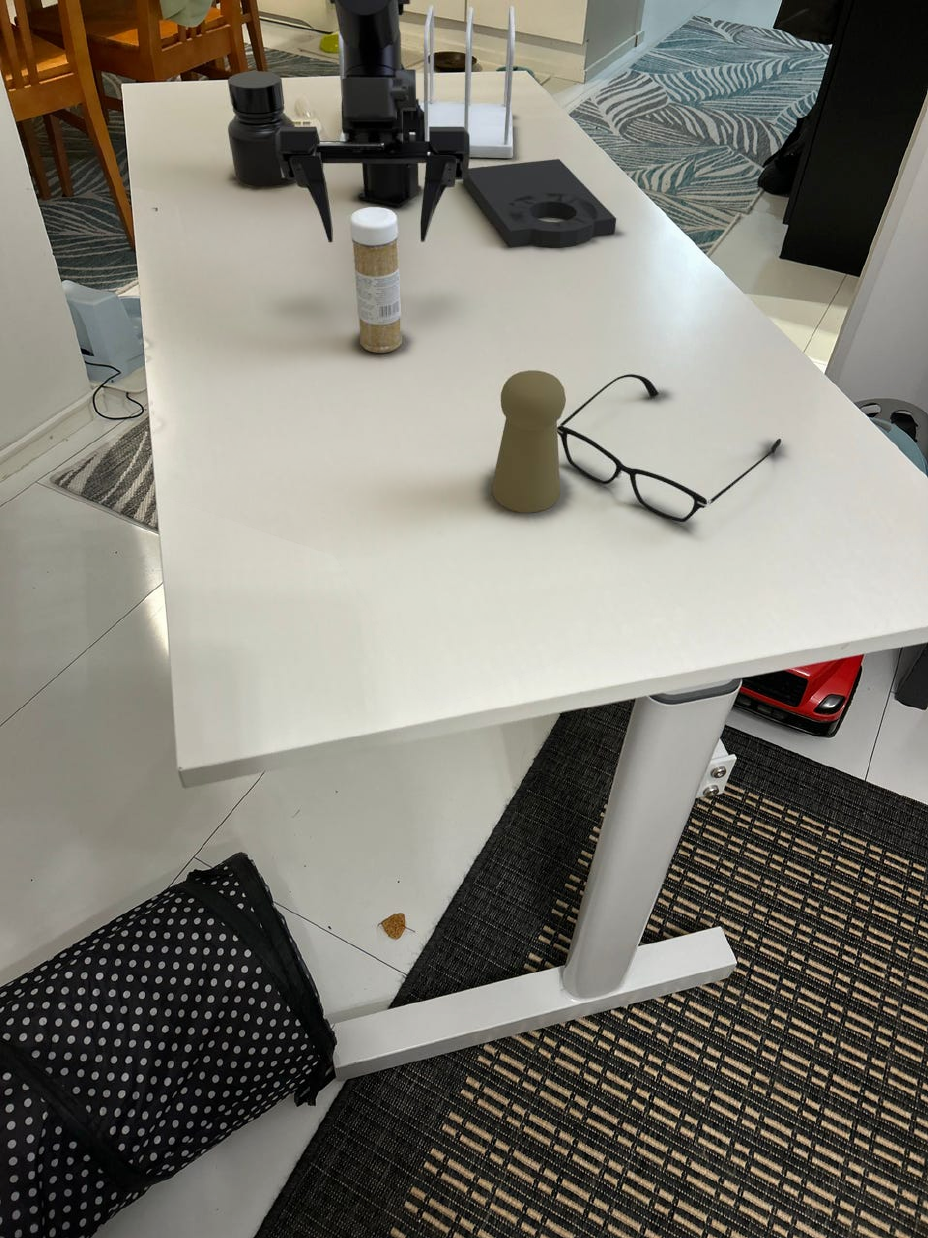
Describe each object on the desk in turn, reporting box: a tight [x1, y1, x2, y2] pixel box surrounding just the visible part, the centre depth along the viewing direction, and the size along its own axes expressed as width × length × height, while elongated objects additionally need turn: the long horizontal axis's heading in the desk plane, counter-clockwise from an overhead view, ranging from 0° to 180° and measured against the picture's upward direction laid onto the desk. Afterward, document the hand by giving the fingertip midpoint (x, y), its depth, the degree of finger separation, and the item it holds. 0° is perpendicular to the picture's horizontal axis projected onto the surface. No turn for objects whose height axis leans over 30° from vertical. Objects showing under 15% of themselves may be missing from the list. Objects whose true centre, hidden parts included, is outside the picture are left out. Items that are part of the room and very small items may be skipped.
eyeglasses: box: [557, 373, 782, 523], centre depth 81 cm, size 16×16×4 cm
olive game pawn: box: [491, 369, 567, 514], centre depth 75 cm, size 6×6×11 cm
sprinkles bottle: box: [349, 206, 403, 354], centre depth 90 cm, size 5×5×14 cm
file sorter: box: [338, 4, 516, 159], centre depth 130 cm, size 25×17×16 cm
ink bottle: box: [227, 70, 296, 188], centre depth 120 cm, size 10×9×12 cm
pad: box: [462, 158, 617, 248], centre depth 117 cm, size 22×14×2 cm, turn 17°
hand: (376, 240), depth 90 cm, fingers open, 9 cm apart
